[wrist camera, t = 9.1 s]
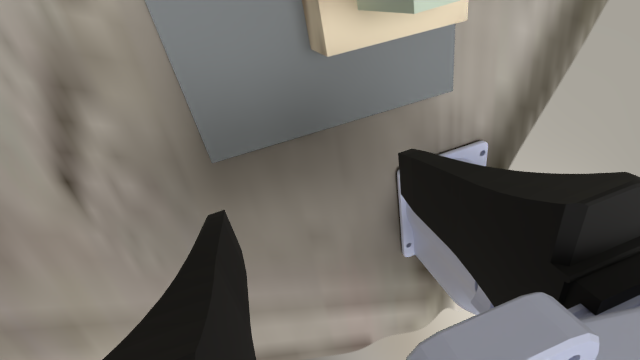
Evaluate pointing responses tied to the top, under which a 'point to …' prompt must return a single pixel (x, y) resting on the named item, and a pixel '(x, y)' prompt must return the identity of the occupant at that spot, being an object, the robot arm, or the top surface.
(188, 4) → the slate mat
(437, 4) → the sage block
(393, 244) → the top surface
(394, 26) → the oak base
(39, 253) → the top surface
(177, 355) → the robot arm
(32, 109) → the top surface
